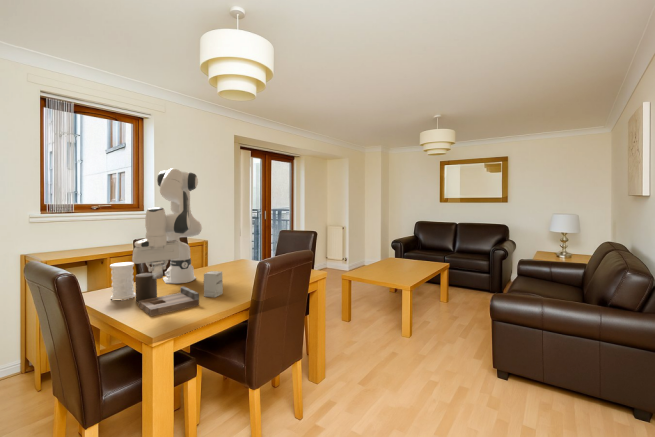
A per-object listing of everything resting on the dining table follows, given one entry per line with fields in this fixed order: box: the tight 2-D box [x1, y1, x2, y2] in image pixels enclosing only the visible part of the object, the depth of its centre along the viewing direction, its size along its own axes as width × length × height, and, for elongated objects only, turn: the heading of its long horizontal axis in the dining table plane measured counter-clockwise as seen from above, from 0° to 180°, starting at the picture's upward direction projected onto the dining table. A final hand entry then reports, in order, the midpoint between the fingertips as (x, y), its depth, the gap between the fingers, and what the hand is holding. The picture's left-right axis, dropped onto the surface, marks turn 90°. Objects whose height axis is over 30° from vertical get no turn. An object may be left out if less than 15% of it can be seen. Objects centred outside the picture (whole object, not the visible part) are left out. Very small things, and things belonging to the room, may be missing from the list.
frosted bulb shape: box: [150, 260, 165, 280], centre depth 159 cm, size 6×6×8 cm
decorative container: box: [109, 261, 136, 300], centre depth 177 cm, size 12×12×18 cm
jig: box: [138, 286, 200, 317], centre depth 163 cm, size 18×22×6 cm
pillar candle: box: [134, 271, 158, 304], centre depth 172 cm, size 10×10×15 cm
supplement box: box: [203, 270, 224, 298], centre depth 182 cm, size 7×7×13 cm
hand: (157, 270), depth 159 cm, fingers closed on frosted bulb shape, 4 cm apart
